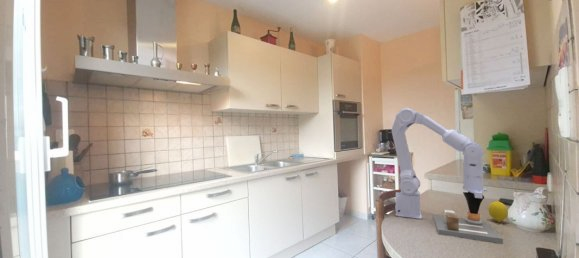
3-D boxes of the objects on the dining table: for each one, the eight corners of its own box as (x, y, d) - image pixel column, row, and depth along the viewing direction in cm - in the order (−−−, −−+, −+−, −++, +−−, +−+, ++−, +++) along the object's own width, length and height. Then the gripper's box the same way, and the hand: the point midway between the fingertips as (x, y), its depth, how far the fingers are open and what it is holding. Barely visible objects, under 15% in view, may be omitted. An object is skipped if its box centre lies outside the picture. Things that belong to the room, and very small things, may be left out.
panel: (438, 234, 82) (438, 226, 82) (433, 218, 96) (432, 212, 96) (502, 243, 74) (502, 235, 74) (486, 225, 89) (486, 218, 89)
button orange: (468, 219, 87) (468, 213, 87) (466, 216, 90) (466, 210, 90) (481, 221, 86) (481, 215, 86) (478, 217, 89) (478, 212, 89)
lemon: (511, 225, 89) (511, 203, 89) (494, 224, 90) (494, 202, 90) (501, 219, 94) (501, 199, 94) (485, 218, 95) (485, 198, 95)
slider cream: (445, 223, 87) (445, 212, 87) (444, 220, 89) (444, 209, 89) (455, 224, 85) (455, 213, 85) (453, 221, 88) (453, 210, 88)
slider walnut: (448, 228, 82) (447, 217, 82) (446, 225, 84) (446, 214, 84) (458, 230, 80) (458, 218, 80) (456, 227, 83) (456, 215, 83)
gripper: (493, 180, 80) (494, 221, 80) (480, 173, 93) (481, 208, 93) (467, 178, 83) (468, 218, 83) (458, 172, 96) (459, 206, 96)
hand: (473, 213), depth 88 cm, fingers closed, pressing on button orange
